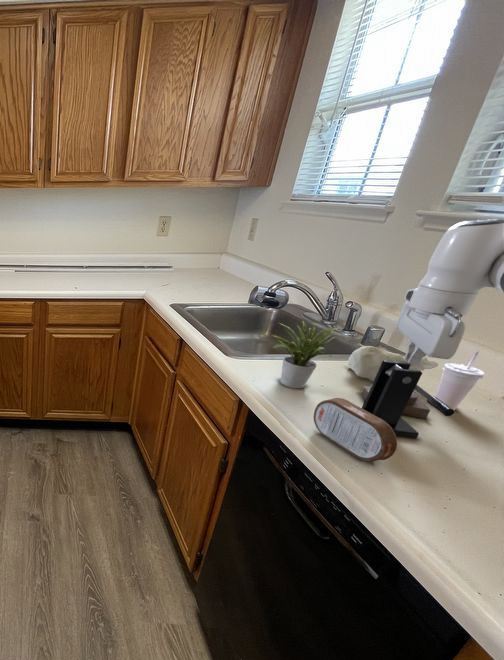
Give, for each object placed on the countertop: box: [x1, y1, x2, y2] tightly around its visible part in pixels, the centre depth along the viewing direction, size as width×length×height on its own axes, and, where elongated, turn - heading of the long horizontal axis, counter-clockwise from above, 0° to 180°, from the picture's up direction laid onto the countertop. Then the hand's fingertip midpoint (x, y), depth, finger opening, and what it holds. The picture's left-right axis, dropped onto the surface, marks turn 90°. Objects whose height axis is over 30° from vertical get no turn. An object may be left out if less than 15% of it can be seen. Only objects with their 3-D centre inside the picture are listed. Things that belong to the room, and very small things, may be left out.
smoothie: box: [435, 350, 485, 411], centre depth 94 cm, size 6×6×14 cm
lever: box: [385, 364, 455, 417], centre depth 84 cm, size 13×6×2 cm
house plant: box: [270, 320, 340, 389], centre depth 104 cm, size 14×14×16 cm
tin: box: [313, 397, 398, 462], centre depth 80 cm, size 15×3×8 cm, turn 10°
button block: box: [360, 385, 431, 419], centre depth 96 cm, size 10×8×4 cm
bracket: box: [361, 360, 423, 439], centre depth 86 cm, size 11×8×14 cm
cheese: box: [347, 345, 440, 383], centre depth 108 cm, size 15×7×15 cm
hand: (410, 362), depth 92 cm, fingers closed
